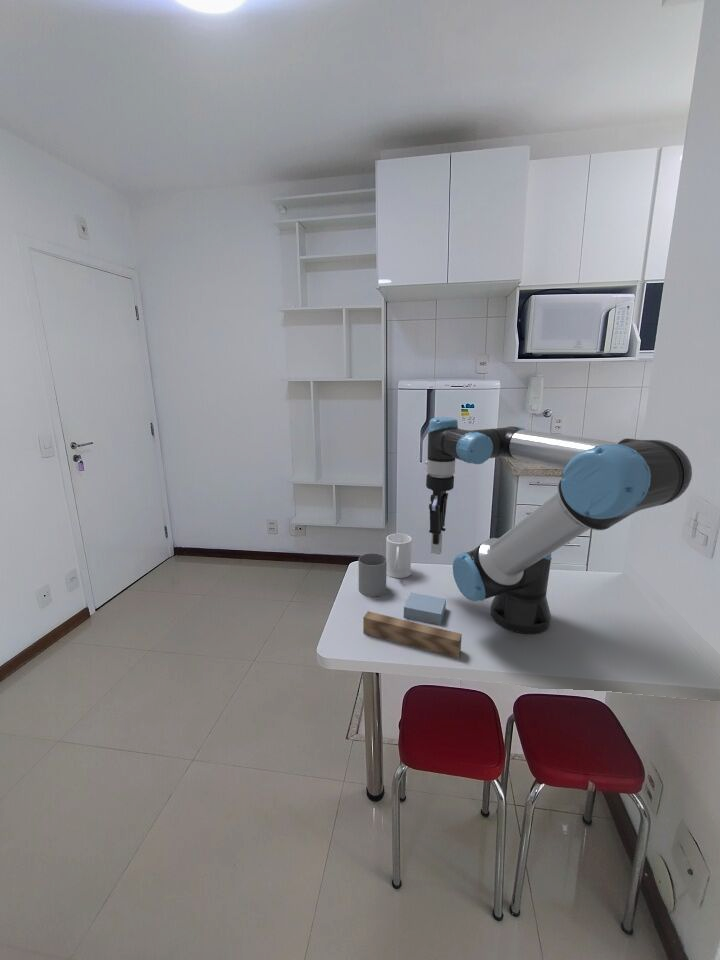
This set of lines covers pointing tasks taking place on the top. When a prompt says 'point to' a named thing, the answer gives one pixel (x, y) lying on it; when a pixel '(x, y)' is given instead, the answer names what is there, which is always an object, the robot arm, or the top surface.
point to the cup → (372, 574)
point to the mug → (398, 555)
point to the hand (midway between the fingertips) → (436, 552)
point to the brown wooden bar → (412, 634)
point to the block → (425, 608)
